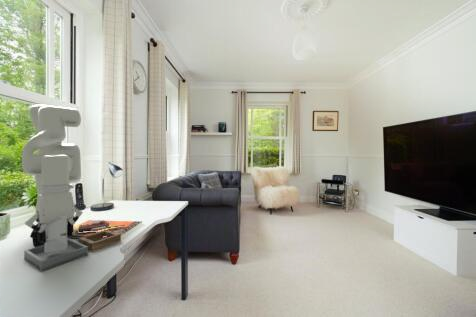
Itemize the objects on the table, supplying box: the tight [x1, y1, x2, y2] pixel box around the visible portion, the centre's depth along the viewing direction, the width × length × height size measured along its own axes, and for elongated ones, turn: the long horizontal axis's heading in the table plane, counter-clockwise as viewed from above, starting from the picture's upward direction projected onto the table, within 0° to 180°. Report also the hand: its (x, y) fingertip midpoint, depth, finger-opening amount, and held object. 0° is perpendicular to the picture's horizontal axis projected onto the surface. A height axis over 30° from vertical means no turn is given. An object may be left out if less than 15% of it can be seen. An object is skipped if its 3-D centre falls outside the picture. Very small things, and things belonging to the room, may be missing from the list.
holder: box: [77, 229, 122, 253], centre depth 87 cm, size 11×11×3 cm
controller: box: [29, 222, 45, 248], centre depth 84 cm, size 4×12×10 cm, turn 36°
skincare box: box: [44, 215, 69, 253], centre depth 76 cm, size 6×4×12 cm
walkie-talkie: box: [75, 219, 125, 233], centre depth 104 cm, size 9×4×20 cm
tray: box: [23, 237, 89, 272], centre depth 76 cm, size 16×13×3 cm
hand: (56, 238), depth 76 cm, fingers closed on skincare box, 7 cm apart
